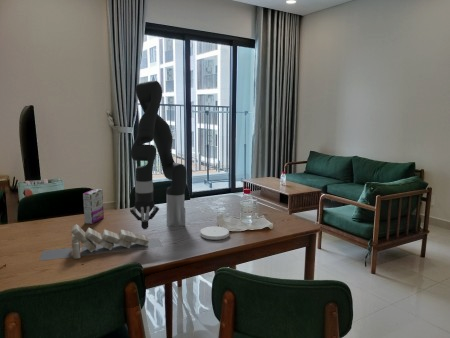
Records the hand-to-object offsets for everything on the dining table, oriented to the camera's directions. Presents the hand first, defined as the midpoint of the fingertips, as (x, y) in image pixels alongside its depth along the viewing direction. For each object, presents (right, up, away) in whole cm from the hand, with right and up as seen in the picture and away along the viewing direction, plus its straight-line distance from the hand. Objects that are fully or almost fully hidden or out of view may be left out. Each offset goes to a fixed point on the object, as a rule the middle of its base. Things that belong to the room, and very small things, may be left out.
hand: (144, 228), depth 149 cm
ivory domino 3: (-6, -6, -1) cm, 9 cm away
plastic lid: (+30, -7, +16) cm, 35 cm away
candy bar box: (-35, -2, +33) cm, 49 cm away
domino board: (-16, -9, -5) cm, 19 cm away
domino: (-28, -4, -5) cm, 29 cm away
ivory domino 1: (-20, -7, -7) cm, 22 cm away
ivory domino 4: (+1, -6, +1) cm, 6 cm away
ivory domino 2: (-13, -6, -4) cm, 15 cm away
